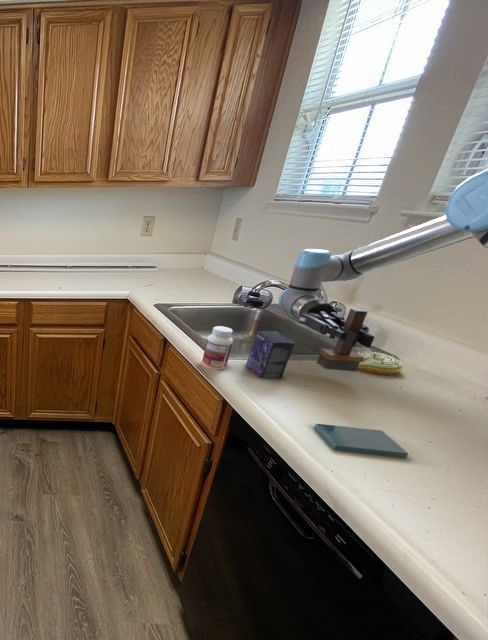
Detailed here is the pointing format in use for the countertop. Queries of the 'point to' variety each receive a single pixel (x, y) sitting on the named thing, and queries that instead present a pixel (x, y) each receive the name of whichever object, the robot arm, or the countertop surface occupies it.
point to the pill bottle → (218, 348)
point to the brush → (344, 346)
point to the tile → (360, 440)
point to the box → (269, 354)
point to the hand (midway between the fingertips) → (362, 341)
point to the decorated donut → (379, 363)
